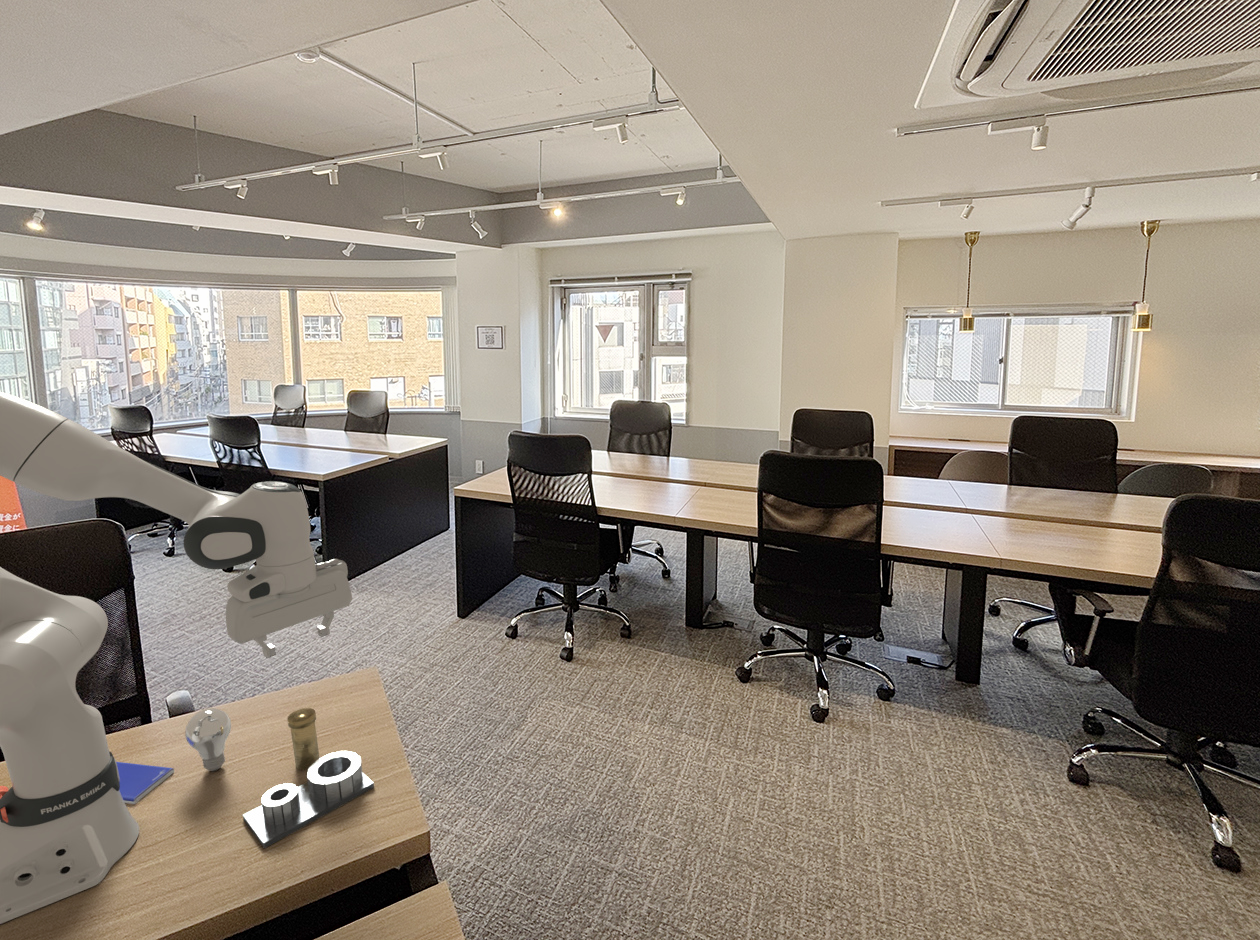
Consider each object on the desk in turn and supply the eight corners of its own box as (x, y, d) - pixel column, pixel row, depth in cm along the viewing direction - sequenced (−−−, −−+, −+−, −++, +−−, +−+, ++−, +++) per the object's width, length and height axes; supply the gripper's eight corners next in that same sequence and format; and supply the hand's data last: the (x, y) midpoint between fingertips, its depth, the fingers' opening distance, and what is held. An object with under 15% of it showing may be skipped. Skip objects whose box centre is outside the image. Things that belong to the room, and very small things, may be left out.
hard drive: (173, 766, 117) (114, 760, 119) (133, 799, 110) (71, 791, 111) (175, 774, 118) (116, 767, 120) (135, 806, 110) (73, 799, 112)
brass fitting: (300, 775, 117) (293, 726, 114) (289, 763, 120) (283, 716, 117) (325, 762, 120) (319, 714, 118) (315, 751, 123) (309, 705, 121)
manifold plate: (264, 848, 100) (260, 824, 99) (243, 819, 106) (239, 796, 105) (374, 787, 113) (371, 765, 112) (350, 764, 119) (347, 743, 118)
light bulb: (216, 784, 114) (205, 725, 112) (183, 779, 116) (172, 720, 113) (246, 759, 121) (237, 702, 118) (214, 754, 122) (205, 698, 120)
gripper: (337, 552, 121) (345, 619, 125) (216, 586, 106) (229, 662, 109) (354, 559, 118) (361, 628, 121) (231, 596, 102) (243, 674, 106)
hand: (297, 645), depth 115 cm, fingers open, 8 cm apart
